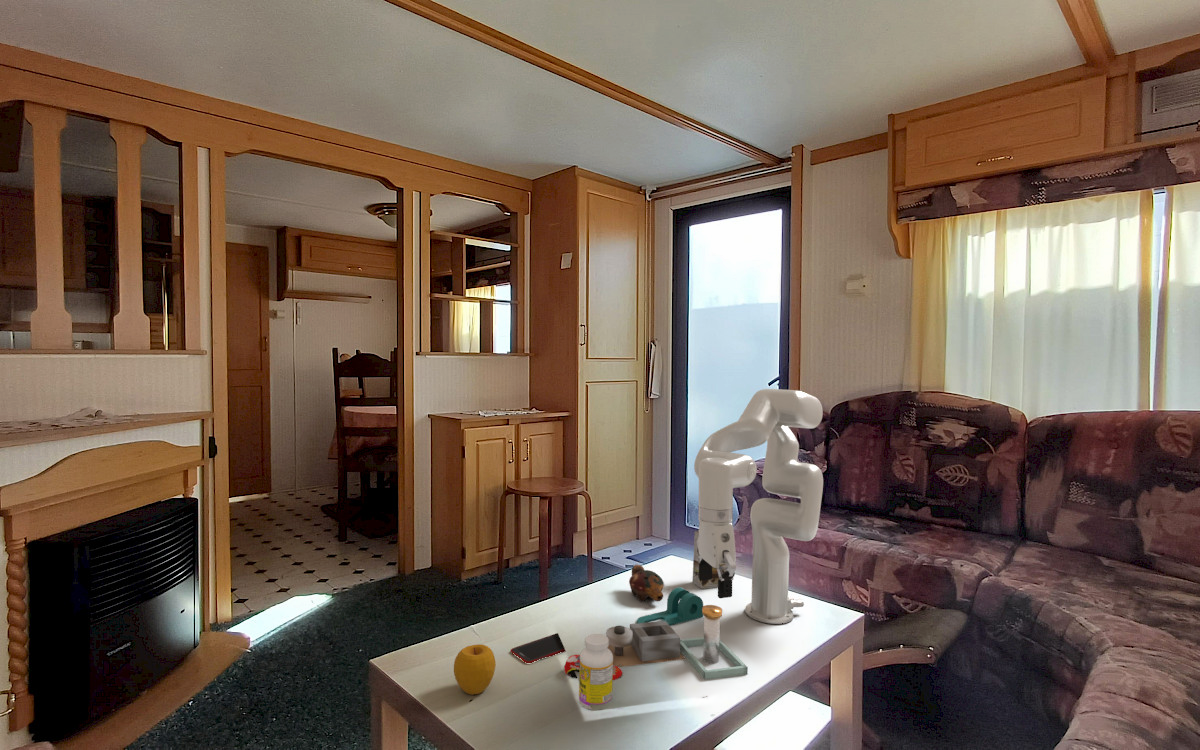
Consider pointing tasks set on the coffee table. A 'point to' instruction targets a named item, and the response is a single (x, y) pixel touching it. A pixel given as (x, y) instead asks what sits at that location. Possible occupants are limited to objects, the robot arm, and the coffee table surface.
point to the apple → (474, 668)
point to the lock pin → (711, 633)
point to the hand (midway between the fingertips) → (714, 588)
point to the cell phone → (539, 648)
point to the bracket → (678, 608)
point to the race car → (574, 665)
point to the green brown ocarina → (646, 584)
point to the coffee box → (704, 583)
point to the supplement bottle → (595, 671)
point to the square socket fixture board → (643, 644)
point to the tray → (714, 673)
